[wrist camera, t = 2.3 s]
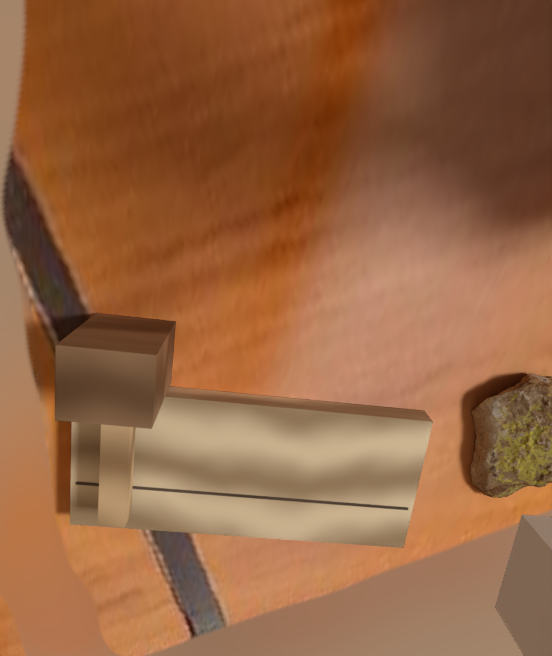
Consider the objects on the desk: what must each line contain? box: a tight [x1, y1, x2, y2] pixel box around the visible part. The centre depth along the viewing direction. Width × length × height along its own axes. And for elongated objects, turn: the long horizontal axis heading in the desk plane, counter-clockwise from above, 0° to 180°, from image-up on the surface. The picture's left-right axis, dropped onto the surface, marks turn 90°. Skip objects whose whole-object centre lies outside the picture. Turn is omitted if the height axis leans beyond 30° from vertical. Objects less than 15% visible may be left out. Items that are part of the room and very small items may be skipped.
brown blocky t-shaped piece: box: [55, 313, 176, 528], centre depth 35 cm, size 15×6×8 cm, turn 173°
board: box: [70, 386, 433, 548], centre depth 40 cm, size 12×28×2 cm, turn 83°
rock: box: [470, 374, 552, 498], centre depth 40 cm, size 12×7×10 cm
